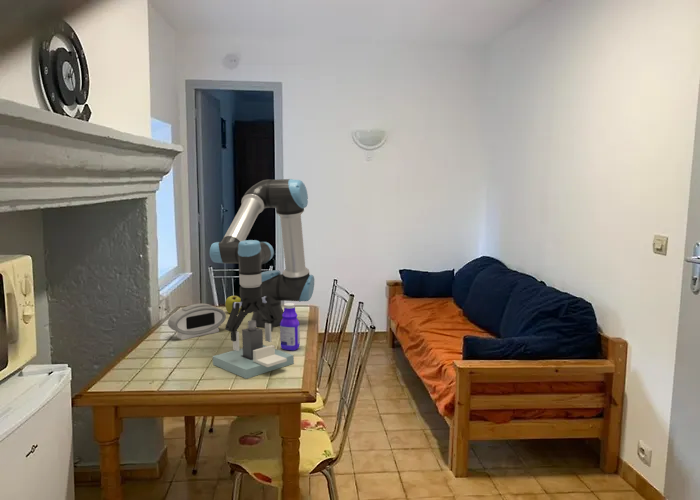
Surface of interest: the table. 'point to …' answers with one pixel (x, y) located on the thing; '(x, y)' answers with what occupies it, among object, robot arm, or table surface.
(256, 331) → the plug
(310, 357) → the table surface
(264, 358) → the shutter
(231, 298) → the apple
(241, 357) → the socket plate
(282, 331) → the bottle
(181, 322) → the alarm clock
